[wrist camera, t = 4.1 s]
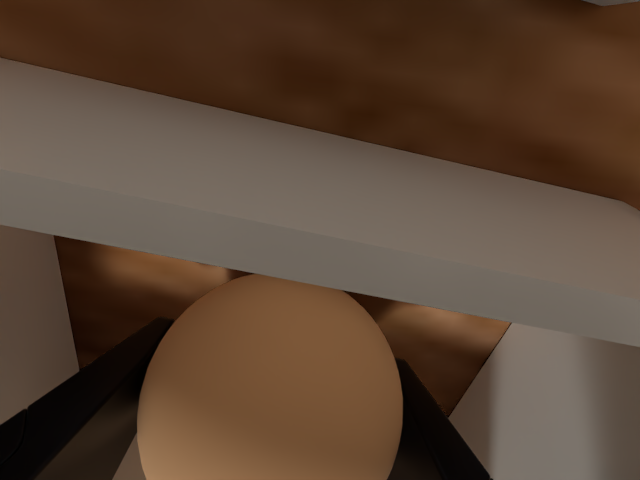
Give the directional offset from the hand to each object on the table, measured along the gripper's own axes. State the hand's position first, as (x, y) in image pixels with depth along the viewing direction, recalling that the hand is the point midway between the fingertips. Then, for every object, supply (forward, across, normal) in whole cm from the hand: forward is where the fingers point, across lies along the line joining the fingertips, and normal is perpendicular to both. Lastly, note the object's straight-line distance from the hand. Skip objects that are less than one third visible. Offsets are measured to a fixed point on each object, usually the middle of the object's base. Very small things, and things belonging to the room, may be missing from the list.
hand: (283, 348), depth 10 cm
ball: (-2, 0, 0) cm, 2 cm away
